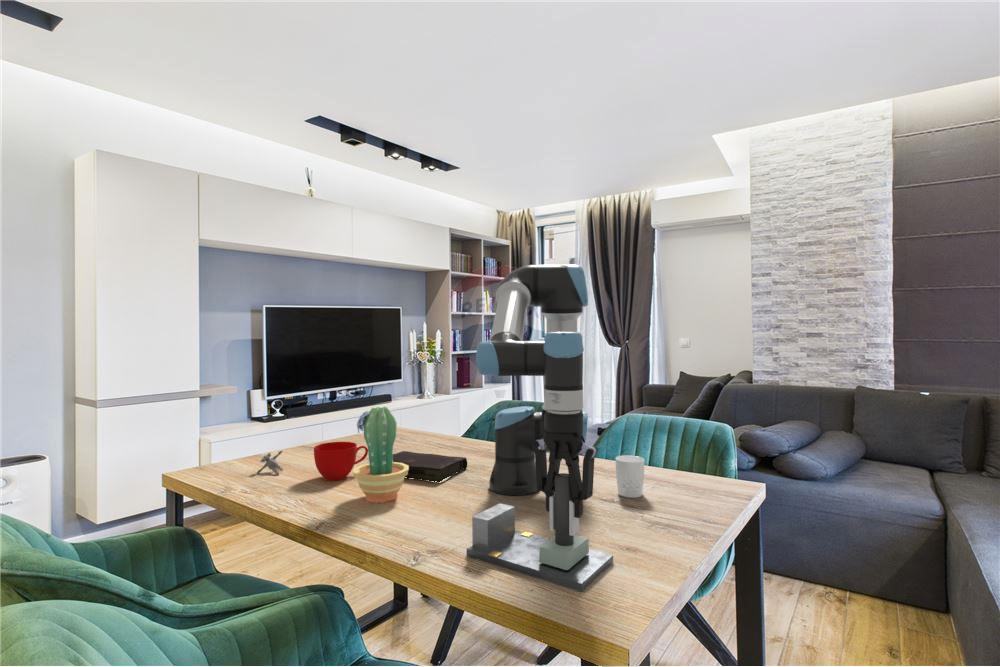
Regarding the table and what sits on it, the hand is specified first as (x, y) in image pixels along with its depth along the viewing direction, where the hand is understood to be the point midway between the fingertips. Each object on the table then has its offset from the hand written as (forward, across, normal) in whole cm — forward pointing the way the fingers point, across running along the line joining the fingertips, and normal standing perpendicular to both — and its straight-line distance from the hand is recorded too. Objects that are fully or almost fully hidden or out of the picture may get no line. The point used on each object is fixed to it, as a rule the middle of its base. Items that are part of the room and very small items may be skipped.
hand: (564, 530), depth 101 cm
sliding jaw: (+5, 0, 0) cm, 5 cm away
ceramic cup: (+7, -88, +16) cm, 90 cm away
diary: (+8, -71, +34) cm, 79 cm away
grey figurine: (+7, -111, +7) cm, 112 cm away
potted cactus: (+7, -62, +9) cm, 63 cm away
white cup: (+7, -6, +50) cm, 51 cm away
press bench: (+7, -6, 0) cm, 9 cm away
